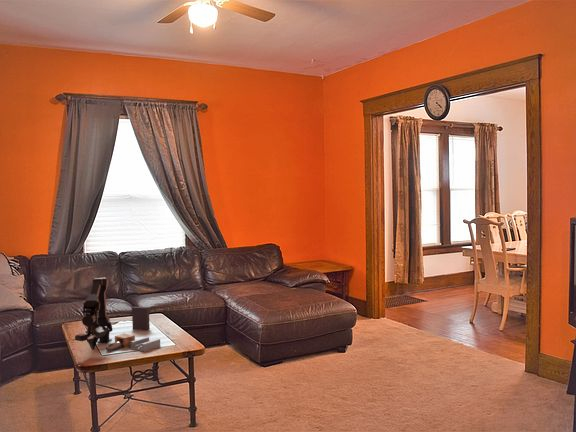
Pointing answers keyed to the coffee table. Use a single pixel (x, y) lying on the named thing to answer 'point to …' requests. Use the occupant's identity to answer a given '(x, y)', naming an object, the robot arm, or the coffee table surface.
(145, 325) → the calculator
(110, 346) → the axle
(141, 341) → the v block
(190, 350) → the coffee table surface
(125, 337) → the orange brown notched block
